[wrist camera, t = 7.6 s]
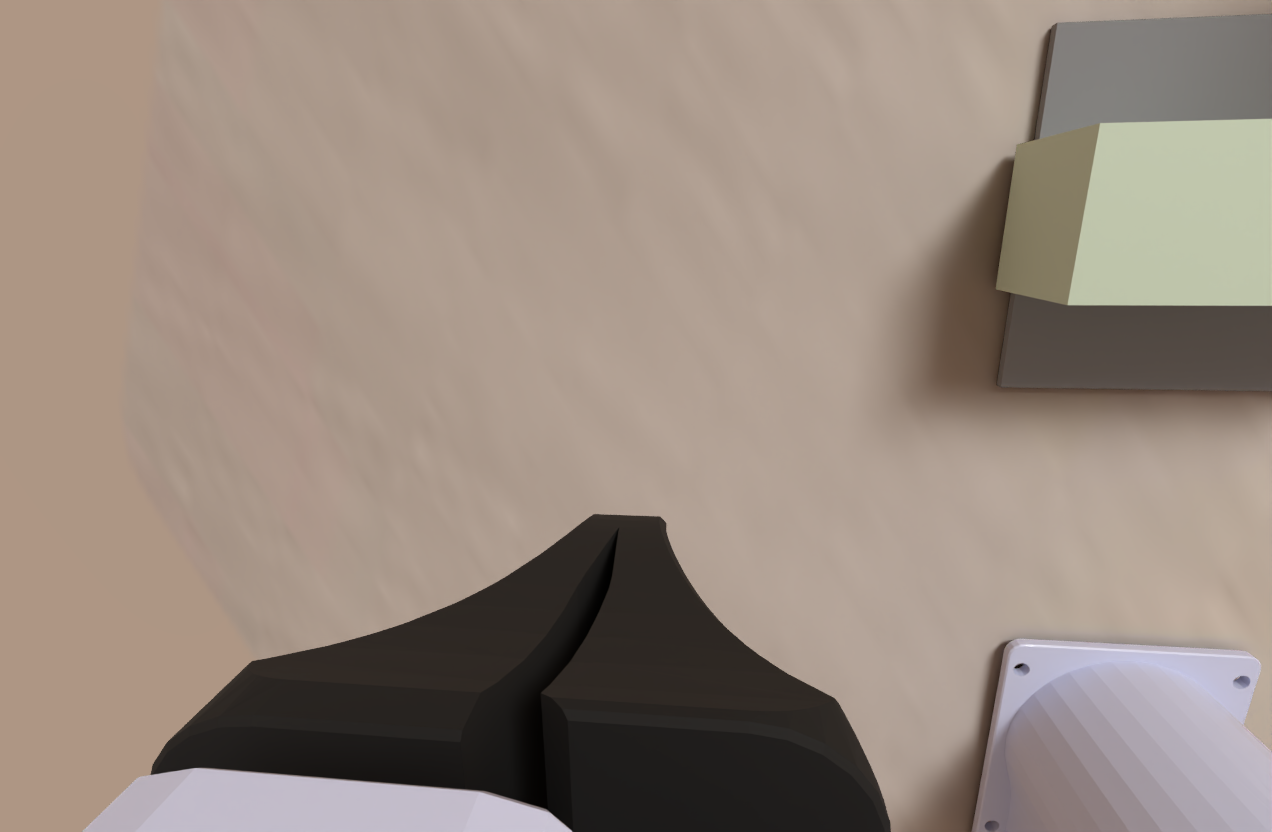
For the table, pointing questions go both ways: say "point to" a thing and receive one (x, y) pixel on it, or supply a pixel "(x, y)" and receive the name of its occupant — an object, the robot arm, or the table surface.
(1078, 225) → the sage block
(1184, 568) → the table surface
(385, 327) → the table surface
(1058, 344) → the mat
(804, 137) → the table surface
